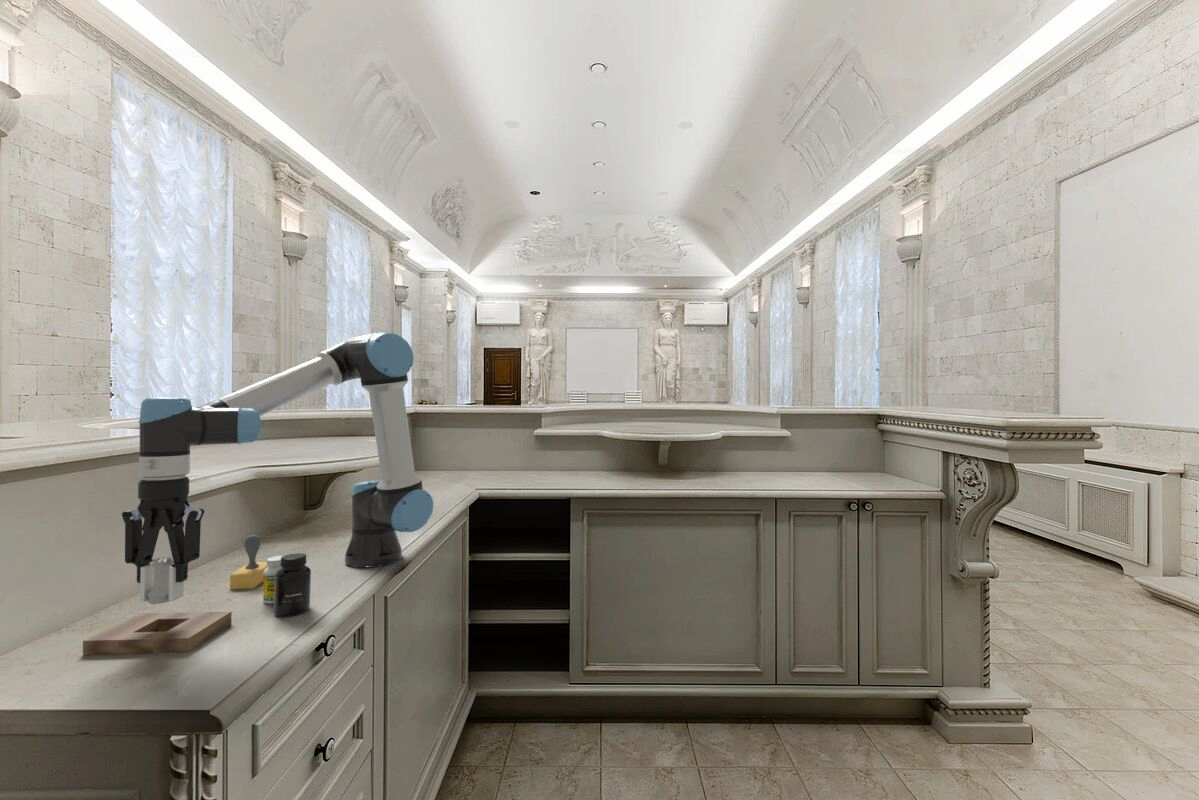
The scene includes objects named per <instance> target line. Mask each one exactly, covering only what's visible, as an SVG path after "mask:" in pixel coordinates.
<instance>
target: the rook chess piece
mask: <svg viewBox="0 0 1199 800" xmlns="http://www.w3.org/2000/svg"><path fill="white" fill-rule="evenodd" d="M166 557H167V558H166ZM153 560H154V559H153ZM152 563H153V564H152V566H153V567H154V568H155V571H154V572H153V573H154V583H153V587H152V588H151V591H150V592H149V593H148V597H149V599H147V601H146V602H147V603H149V604H150V605H157V604H158V605H159V604H164V603H165V604H166V603H169V602H170V601H169V567H171V565H172V564H174V562H173V557H172V556H162V557H161V558H160V557H158V558H155V560H154V561H153V562H152Z"/></svg>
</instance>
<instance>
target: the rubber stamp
mask: <svg viewBox="0 0 1199 800" xmlns="http://www.w3.org/2000/svg"><path fill="white" fill-rule="evenodd" d="M261 544H262V543H261V537H260V536H259V535H257V534H251V535H248V536H247V537H246V538H245V540H244V545H243V546H244V549H245V552H246V554H247V556H248V561H249V562H248V563H246V564H245V565H244V566H242V567H240V568H239V569H237V570H236V571H234V572H232V573H231V574H230V575H229V589H230V590H238V589H239V590H241V589H255V588H257V587H258V586H259V585H260V584H262V583H263V572H264V570H265V569H266V568H268V566H267V561H256V557H257V555H258V552H259V550H260V547H261Z"/></svg>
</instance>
